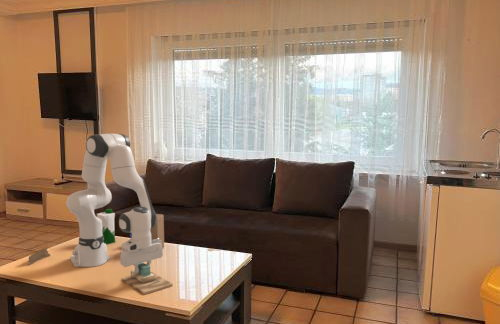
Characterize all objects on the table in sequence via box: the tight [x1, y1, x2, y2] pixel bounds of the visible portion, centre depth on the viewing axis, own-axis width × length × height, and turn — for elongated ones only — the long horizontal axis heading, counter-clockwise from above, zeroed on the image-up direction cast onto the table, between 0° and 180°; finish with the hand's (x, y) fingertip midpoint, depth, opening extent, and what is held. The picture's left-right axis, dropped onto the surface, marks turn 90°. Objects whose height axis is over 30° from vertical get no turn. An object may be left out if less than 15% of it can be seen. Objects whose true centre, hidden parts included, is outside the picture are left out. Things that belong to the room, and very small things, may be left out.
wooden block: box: [150, 213, 165, 250], centre depth 238 cm, size 10×10×20 cm
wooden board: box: [121, 270, 174, 296], centre depth 192 cm, size 22×14×1 cm, turn 42°
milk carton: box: [96, 208, 116, 245], centre depth 251 cm, size 9×9×20 cm
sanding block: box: [130, 262, 155, 284], centre depth 194 cm, size 12×6×6 cm, turn 43°
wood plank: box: [27, 247, 51, 266], centre depth 221 cm, size 15×2×5 cm, turn 171°
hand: (142, 270), depth 194 cm, fingers closed on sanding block, 3 cm apart
